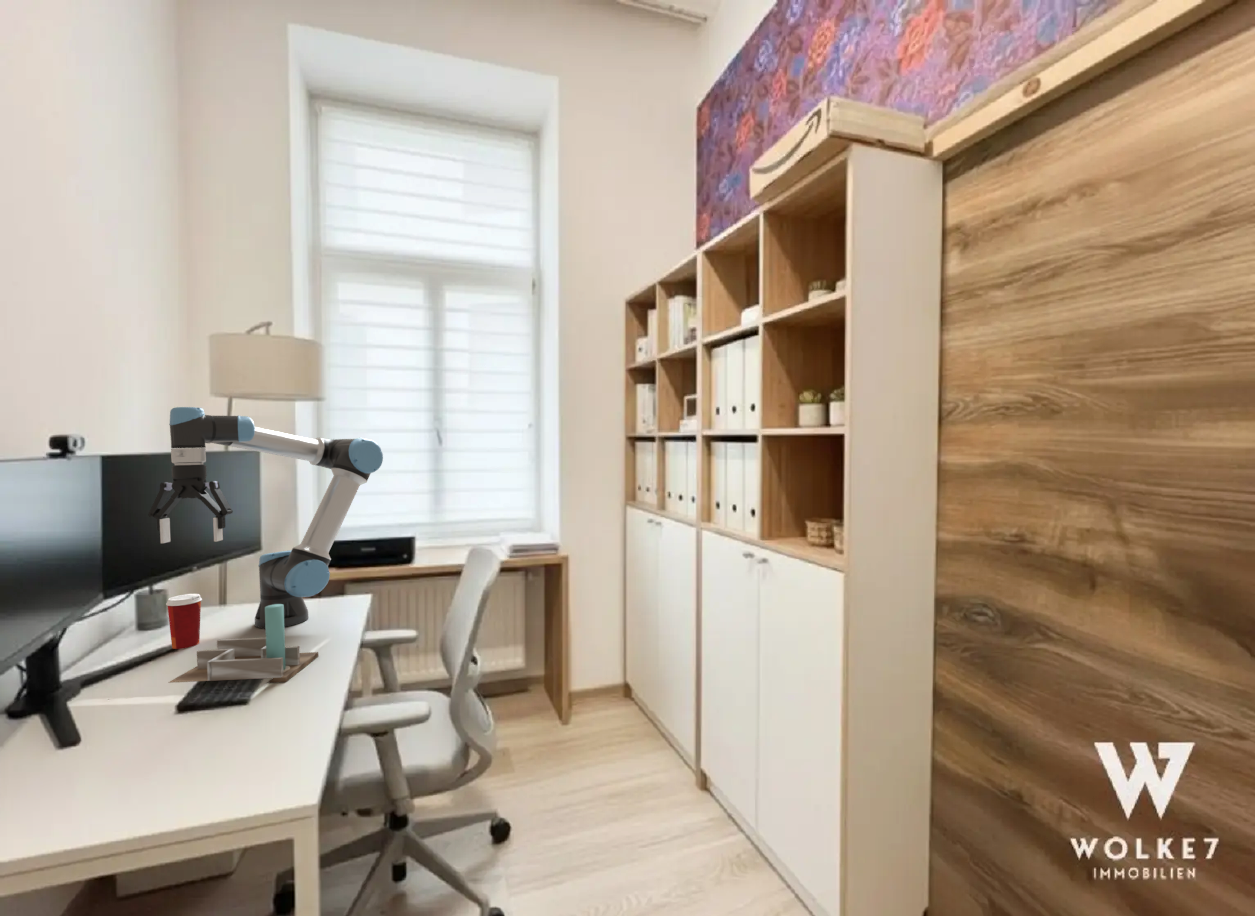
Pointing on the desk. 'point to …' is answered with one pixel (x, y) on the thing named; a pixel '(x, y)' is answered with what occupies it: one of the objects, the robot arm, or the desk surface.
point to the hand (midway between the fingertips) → (192, 541)
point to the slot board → (245, 662)
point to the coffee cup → (184, 620)
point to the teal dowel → (275, 632)
